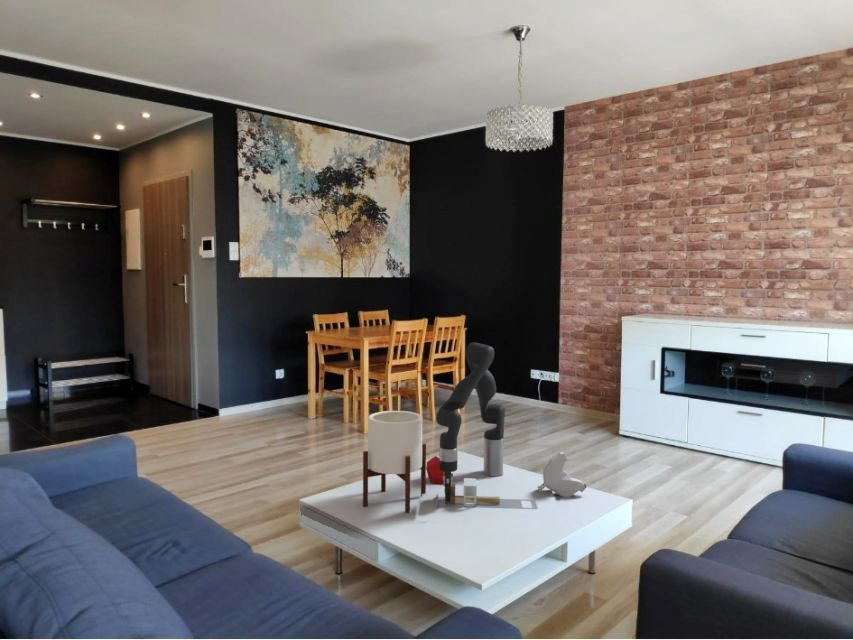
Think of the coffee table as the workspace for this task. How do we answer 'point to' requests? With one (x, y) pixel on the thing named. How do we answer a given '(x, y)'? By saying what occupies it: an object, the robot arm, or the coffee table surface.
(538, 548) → the coffee table surface
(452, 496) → the walnut block
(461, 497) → the beech dowel
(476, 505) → the grey pocketed tray
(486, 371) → the robot arm
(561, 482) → the grey crescent shape
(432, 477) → the apple
